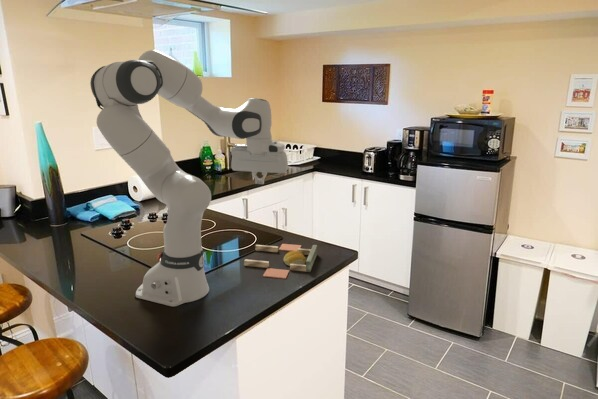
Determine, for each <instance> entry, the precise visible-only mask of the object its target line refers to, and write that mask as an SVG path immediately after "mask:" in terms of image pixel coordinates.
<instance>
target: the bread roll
mask: <svg viewBox="0 0 598 399" xmlns="http://www.w3.org/2000/svg"><path fill="white" fill-rule="evenodd" d="M306 260H307V258H306V257H305V255H303V254H302V253H301V252H299V251H287V253H286V254H285V255H284V257H283V260H282V261H283V263H284V264H285V265H287V266H288V267H290V264H301V265H306Z"/></svg>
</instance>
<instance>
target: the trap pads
mask: <svg viewBox="0 0 598 399" xmlns="http://www.w3.org/2000/svg"><path fill="white" fill-rule="evenodd" d="M298 248H301V249H302V245H301V244H291V243H290V244H288V243H282V244H281V245H280V247H278V251H284V252H290V251H298ZM289 273H290V269H280V268H273V267H272V268H271V267H269V268H266V270H265V271H264V273H263V275H262V277H263V278H272V279H273V278H274V279H281V280H282V279H283V280H286V279H287V276H288V275H289Z"/></svg>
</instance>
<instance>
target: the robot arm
mask: <svg viewBox="0 0 598 399" xmlns="http://www.w3.org/2000/svg"><path fill="white" fill-rule="evenodd" d="M89 84H90V89H91V93H92V95H93V96H94V98H95V101H96V105H97V108H99V109H100V112H99V113H98V115H97V117H96V126H97V128H98V129H99V132H100V133H101V135H102V136H103V138H104V139H105V140H106V141H107V143H108V144H109V145H110V146H111V148H112V149H113V151H115V152H116V153H117V154H118V156H119V157H120V158H121V159H122V160H123V161H124V162H125V163H126V164H127V165H128V166H129V167H130V168H131V169H132V170H133V171H134V172H135V173H136V175H137V176H138V177H139V178H140V180H141V181H142V183H143V184H144V185H145V187H146V188H147V189H148V190H149V192H150V193H151V194H152V195H153V196H154V197H155V198H156V199H157V200H158V201H159V202H161V203H163V204H164V205H165V206H167V209H168V210H167V211H168V213H167V214H168V215H167V218H166V223H165V224H164V226H163V229H162V232H163V246H164V250H161V251H160V253H159V254H158V255H157V260H159V259H160V261H159V262H157V263H156V264H154V265H153V266H152V267H151V268H149V269H148V270H147V272H146V273H145V275H144V276H143V280H142V284H140V286H139V287H137V289H136V291H135V297H136V298H138V299H140V300H141V299H142V300H145V301H150V302H153V303H157V304H161V305H165V306H168V307H178V306H180V305H182V304H185V303H191V302H195V301H198V300H200V299H202V298H204V297H205V296H207V294H208V293H209V292H210V287H209V284H208V281H207V277H206V273H205V268H204V266H205V256H204V249H203V247H202V246H203V245H202V230H201V229H202V220H203V216H204V212H205V211H206V210H207V209H208V208H209V207H210V204H211V201H212V191H211V189H210V188H209V186H208V185H207V184H206V183H205V182H204V181H203V180H202V179H201V178H199V177H197V176H195V175H192V174H190V173H187V172H185V171H184V170H183V169H182V168H180V167H179V166H178V164H177V163H176V161H175V159H174V158H173V156H172V153H171V150H170V149H169V147H167V145H166V143H164V142H163V141H162V139H161V138H160V137H159V135H157V134H156V132H155V131H154V130H153V129H152V127H151V126H150V125H149V124H148V123H147V122H146V121H145V120H144V119H143V117H142V115H141V112H140V110H139V105H143V104H146V103H148V102H151V100H153V99H154V98H155V97H156V96H157V95H158V96H160V97H161V98H162V99H163V98H164V100H167V101H168V102H169V103H171V104H174V105H176V106H178V107H180V108H183V109H185V110H186V111H187V112H188V113H189V112H190V114H192V115H194V116H195V117H196V118H198V119H199V120H201V121H202V122H204V124H205V125H206V127H207V128H208V130H209V131H210V132H211V133H212V134H213V135H214V136H217V137H221V138H223V137H224V138H225V137H226V138H227V137H228V138H233V139H239V140H243V139H246V140H245V141H246V144H234V145H233V146H231V149H230V153H231V160H230V162H231V163H230V165H231V166H230V168H231V169H232V171H234V172H235V171H236V172H251V175H252V178H254V184H255V185H264V184H265V179H266V177H267V175H268V173H269V174H270V173H271V174H286V172H287V171H288V170H289V162H288V155H287V153H286V152H285V151H284V150H285V149H286V148H285V147H286V146H285V144H284V143H281V142H278V141H276V140H273V138H272V132H271V130H272V129H271V128H272V124H273V123H272V122H273V121H272V108H271V105H270V102H269V101H267V100H266V99H263V98H257V97H249V98H247V100H246V102H244V103H243V104H242V105H241V106H239V107H236V108H228V107H223V106H217V105H216V106H215V105H213V104H212V103H211V102H210V101H208V100H207V99H206V98H205V97H203V96H202V94H203V82H202V80H201V78H200V77H199V76H198V75H197V74H196V73H195V72H194V70H191V69H190V68H188V67H187V66H186V65H184V64H183V63H181V61H179V60H177V59H175V58H173V57H171V56H169V55H167V54H166V53H163V52H161V51H159V50H156V49H149V50H147V51H145V52H143V53H142V54H141V55H140V56H139V58H138V59H129V60H125V61H116V62H111V63H110V64H107V65H104V66H101V67H99V68H98V69H97V70H95V72H94V73H93V74H92V76H91V77H90V83H89ZM258 173H261V176H262V177H261V178H259V176H258V175H257V174H258Z"/></svg>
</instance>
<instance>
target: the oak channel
mask: <svg viewBox="0 0 598 399" xmlns="http://www.w3.org/2000/svg"><path fill="white" fill-rule="evenodd" d="M255 251H258V252H259V251H260V252H267V253H268V252H271V253H278V252H279V246H276V245H267V244H266V245H264V244H255ZM298 251H299V252H301V253H302V254H303V255H304V256H307V258H306V263H305V264H304V265H301V264H290V266H289V271H297V272H306V273H307V272H308V273H311V271H312V269H313V266H314V263H315V260H316V258H317V256H318V245H317V244H313V245H312V246H311V249H310V248H302V247H301V248H298ZM243 262H244V263H243V265H244V267H245V266H246V267H256V268H266V269H267V268H270V261H267V260H257V259H247V258H246V259H245V258H244V261H243Z"/></svg>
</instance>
